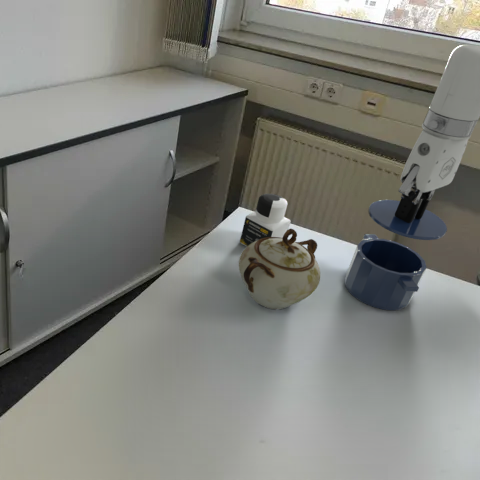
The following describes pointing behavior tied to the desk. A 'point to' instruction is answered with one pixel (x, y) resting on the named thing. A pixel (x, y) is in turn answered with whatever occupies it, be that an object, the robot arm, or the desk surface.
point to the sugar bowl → (280, 270)
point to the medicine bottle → (266, 220)
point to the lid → (417, 229)
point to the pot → (384, 273)
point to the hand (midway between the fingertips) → (407, 216)
